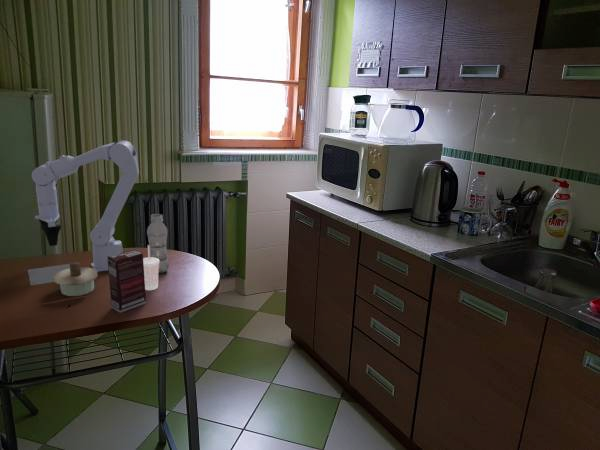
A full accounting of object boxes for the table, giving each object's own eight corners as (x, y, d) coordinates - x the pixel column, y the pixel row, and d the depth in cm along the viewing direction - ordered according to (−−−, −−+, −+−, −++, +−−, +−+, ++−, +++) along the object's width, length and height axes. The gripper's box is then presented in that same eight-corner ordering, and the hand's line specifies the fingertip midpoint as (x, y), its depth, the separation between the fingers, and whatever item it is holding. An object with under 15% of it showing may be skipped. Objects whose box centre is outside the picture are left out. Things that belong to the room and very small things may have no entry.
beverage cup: (160, 282, 152) (158, 241, 148) (160, 290, 146) (159, 248, 142) (140, 284, 150) (138, 242, 146) (140, 292, 145) (137, 249, 140)
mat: (73, 264, 163) (73, 263, 163) (80, 278, 152) (80, 277, 152) (27, 271, 155) (27, 269, 155) (30, 286, 144) (30, 285, 144)
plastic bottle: (166, 276, 157) (164, 218, 151) (146, 274, 157) (143, 217, 151) (171, 268, 163) (169, 213, 157) (152, 267, 163) (149, 212, 158)
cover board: (94, 267, 150) (93, 254, 149) (100, 281, 140) (99, 267, 139) (52, 273, 144) (51, 259, 143) (55, 288, 134) (53, 273, 133)
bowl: (91, 282, 149) (90, 269, 148) (96, 293, 142) (95, 279, 141) (59, 287, 145) (58, 274, 143) (63, 299, 137) (61, 285, 136)
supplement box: (137, 298, 140) (134, 248, 136) (146, 303, 137) (144, 253, 133) (110, 308, 134) (106, 255, 129) (119, 313, 131) (115, 260, 126)
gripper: (31, 198, 156) (36, 237, 160) (35, 208, 144) (40, 250, 148) (55, 196, 160) (59, 234, 164) (60, 206, 148) (65, 247, 152)
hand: (52, 241), depth 156 cm, fingers open, 7 cm apart
